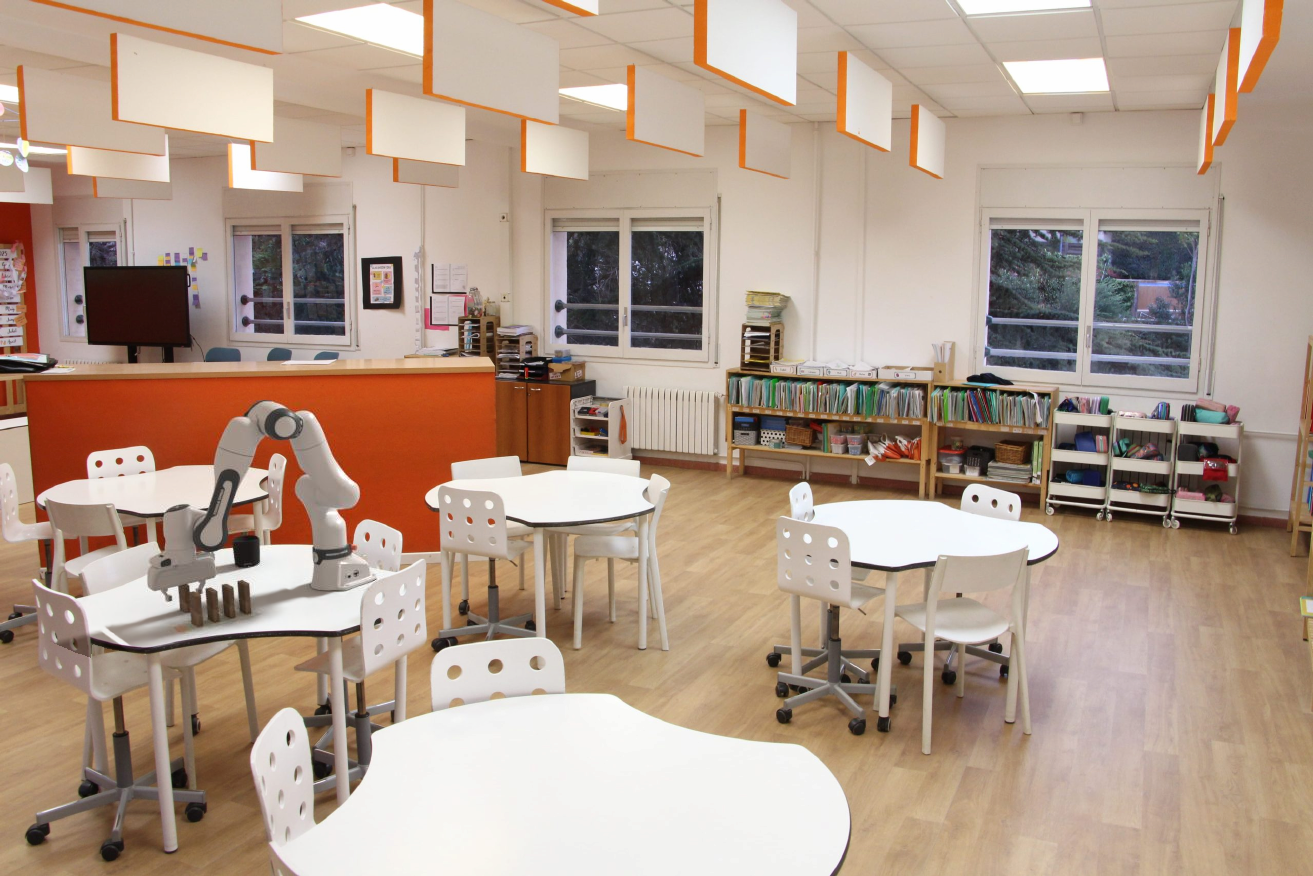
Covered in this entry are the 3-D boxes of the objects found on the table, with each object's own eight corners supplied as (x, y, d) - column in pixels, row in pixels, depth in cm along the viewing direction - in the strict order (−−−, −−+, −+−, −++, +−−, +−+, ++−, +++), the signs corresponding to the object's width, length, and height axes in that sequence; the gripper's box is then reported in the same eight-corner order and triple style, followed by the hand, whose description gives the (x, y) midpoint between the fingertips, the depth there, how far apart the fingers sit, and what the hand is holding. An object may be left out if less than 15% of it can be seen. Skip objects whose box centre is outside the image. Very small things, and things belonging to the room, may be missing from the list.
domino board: (246, 609, 313) (246, 606, 313) (259, 616, 307) (259, 613, 307) (169, 629, 296) (169, 626, 296) (181, 637, 290) (181, 634, 290)
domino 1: (196, 622, 300) (194, 591, 298) (203, 626, 296) (200, 594, 295) (191, 623, 299) (188, 592, 297) (198, 627, 295) (195, 596, 293)
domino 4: (244, 609, 311) (242, 579, 309) (251, 613, 307) (249, 583, 306) (239, 611, 309) (237, 581, 308) (246, 614, 306) (244, 584, 304)
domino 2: (212, 617, 303) (210, 587, 302) (219, 621, 300) (217, 591, 298) (207, 619, 302) (205, 588, 300) (214, 623, 299) (212, 592, 297)
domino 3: (228, 613, 307) (226, 583, 305) (235, 617, 304) (233, 587, 302) (223, 615, 306) (221, 584, 304) (230, 619, 302) (228, 588, 301)
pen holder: (228, 567, 357) (226, 541, 356) (244, 559, 366) (242, 534, 365) (250, 569, 355) (249, 542, 354) (266, 561, 364) (264, 536, 363)
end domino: (185, 611, 312) (182, 581, 310) (191, 615, 308) (189, 585, 307) (180, 612, 311) (177, 582, 309) (186, 616, 307) (184, 586, 305)
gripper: (210, 547, 316) (212, 587, 318) (143, 560, 301) (147, 602, 303) (218, 550, 311) (221, 592, 314) (151, 564, 296) (155, 607, 299)
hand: (184, 597), depth 308 cm, fingers open, 8 cm apart
